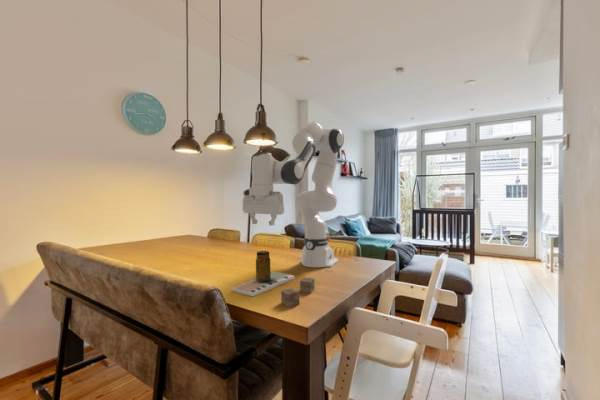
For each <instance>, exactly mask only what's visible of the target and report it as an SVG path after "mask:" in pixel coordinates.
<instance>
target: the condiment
mask: <svg viewBox="0 0 600 400" xmlns="http://www.w3.org/2000/svg"><path fill="white" fill-rule="evenodd" d="M270 273H271V258H270V251H268V250H259V251H257V252H256V257H255V279H256V280H255V281H253V282H256V283H273V282H274V281H275V280H276V279H277V278H271V277H270Z"/></svg>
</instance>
